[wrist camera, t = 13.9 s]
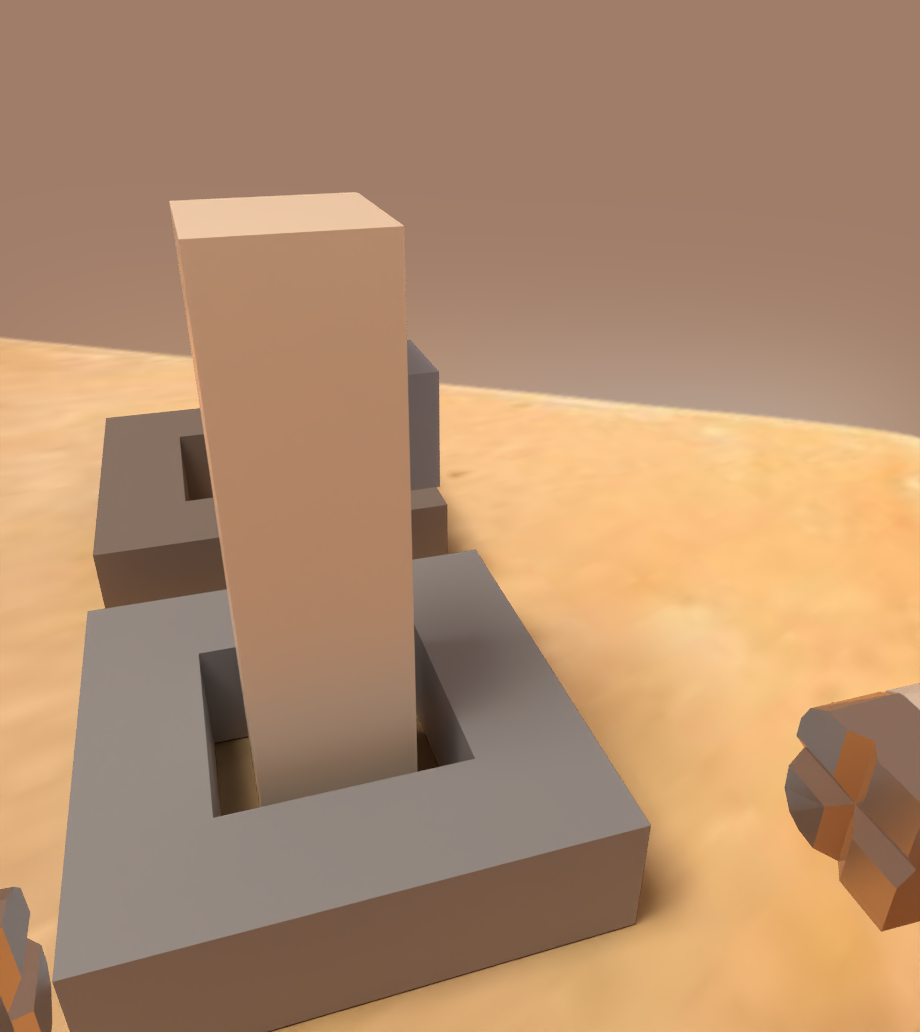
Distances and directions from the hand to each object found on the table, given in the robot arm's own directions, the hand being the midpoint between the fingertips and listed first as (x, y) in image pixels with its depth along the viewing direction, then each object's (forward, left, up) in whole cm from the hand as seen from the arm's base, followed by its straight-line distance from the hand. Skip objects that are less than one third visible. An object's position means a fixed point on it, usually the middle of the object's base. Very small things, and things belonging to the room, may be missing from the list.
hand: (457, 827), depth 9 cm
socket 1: (0, +24, -10) cm, 26 cm away
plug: (0, +10, -10) cm, 14 cm away
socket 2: (0, +10, -10) cm, 14 cm away
